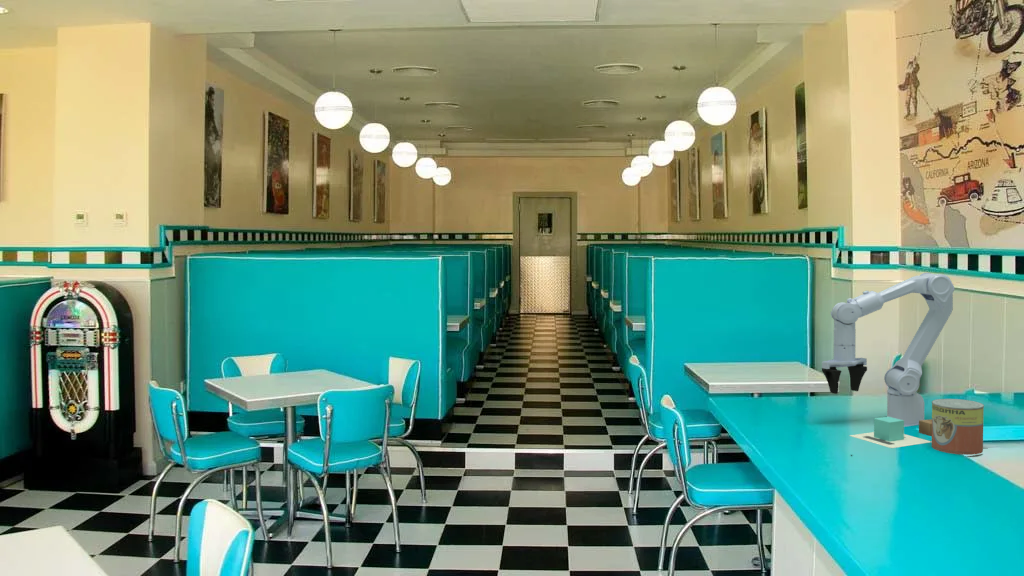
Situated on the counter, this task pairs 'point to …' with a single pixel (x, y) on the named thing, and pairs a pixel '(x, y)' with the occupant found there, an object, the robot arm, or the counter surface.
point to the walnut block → (925, 427)
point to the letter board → (892, 444)
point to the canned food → (957, 426)
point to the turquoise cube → (889, 428)
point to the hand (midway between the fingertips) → (844, 391)
